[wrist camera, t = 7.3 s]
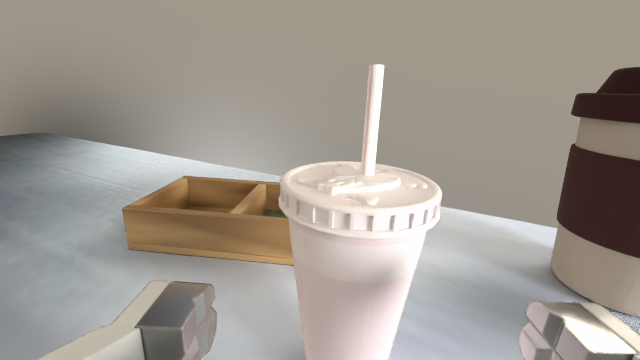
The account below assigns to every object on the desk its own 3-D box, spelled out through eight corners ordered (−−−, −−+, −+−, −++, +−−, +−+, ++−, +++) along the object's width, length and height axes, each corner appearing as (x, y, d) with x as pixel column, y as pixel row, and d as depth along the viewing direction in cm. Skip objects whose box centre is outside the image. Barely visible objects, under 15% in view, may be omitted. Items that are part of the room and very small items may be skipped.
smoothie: (434, 366, 15) (491, 69, 11) (357, 481, 11) (406, 48, 6) (336, 303, 19) (351, 70, 15) (251, 366, 15) (240, 58, 11)
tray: (187, 207, 33) (184, 175, 32) (346, 220, 31) (349, 187, 30) (128, 249, 24) (121, 208, 23) (343, 270, 23) (346, 227, 22)
